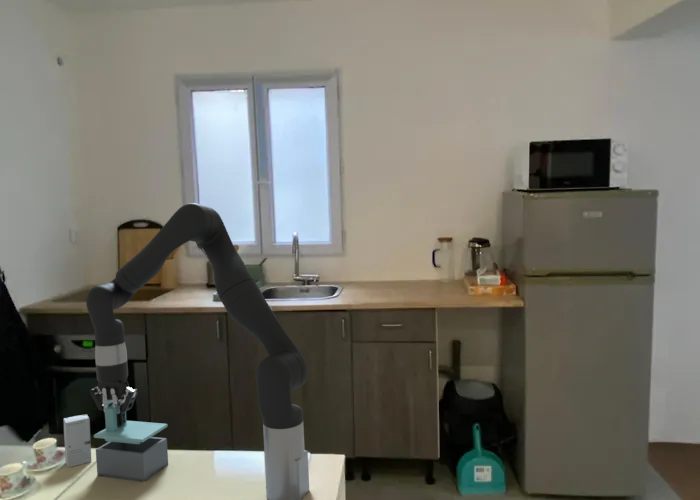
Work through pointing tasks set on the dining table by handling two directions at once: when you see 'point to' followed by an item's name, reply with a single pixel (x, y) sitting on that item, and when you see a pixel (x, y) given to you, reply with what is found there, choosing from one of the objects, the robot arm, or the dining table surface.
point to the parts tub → (132, 459)
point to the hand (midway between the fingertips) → (116, 425)
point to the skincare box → (77, 440)
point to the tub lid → (127, 429)
